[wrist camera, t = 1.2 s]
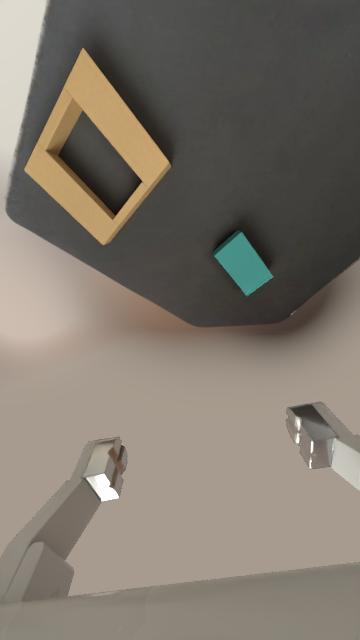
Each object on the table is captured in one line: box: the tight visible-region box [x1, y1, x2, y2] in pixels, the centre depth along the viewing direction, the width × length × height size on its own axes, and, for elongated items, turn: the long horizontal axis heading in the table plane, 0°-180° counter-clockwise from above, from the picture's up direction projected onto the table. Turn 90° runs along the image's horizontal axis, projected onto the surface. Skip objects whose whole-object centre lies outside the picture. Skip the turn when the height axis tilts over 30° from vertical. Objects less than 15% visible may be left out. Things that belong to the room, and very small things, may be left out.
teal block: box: [213, 230, 273, 296], centre depth 34 cm, size 6×10×3 cm, turn 43°
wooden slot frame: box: [24, 48, 171, 245], centre depth 28 cm, size 16×14×3 cm
